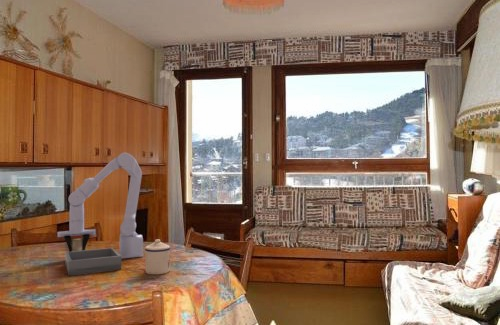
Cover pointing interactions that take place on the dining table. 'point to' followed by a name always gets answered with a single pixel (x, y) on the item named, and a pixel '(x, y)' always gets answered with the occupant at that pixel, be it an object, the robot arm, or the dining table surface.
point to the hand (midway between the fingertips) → (76, 253)
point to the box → (92, 261)
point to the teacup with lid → (157, 258)
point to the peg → (76, 244)
